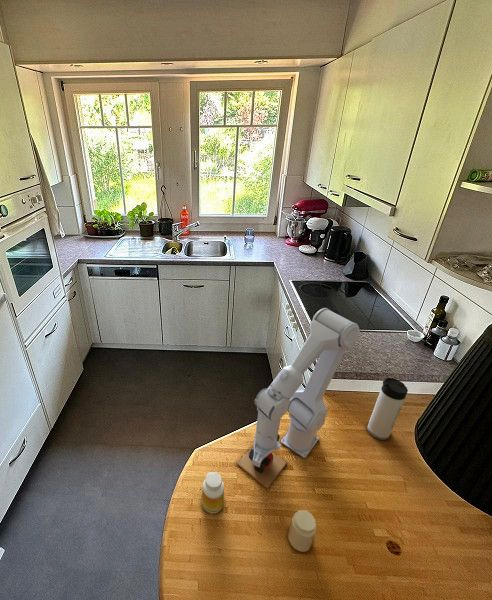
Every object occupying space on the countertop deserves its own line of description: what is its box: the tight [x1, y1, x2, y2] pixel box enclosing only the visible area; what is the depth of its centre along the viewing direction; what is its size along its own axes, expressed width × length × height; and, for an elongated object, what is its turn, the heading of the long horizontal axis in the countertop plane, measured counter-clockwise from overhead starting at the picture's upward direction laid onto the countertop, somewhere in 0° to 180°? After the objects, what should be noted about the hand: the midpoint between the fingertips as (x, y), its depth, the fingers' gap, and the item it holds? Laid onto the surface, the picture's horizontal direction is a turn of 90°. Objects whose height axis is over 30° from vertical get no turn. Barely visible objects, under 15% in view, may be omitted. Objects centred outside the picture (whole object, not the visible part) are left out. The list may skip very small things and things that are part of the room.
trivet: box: [236, 445, 287, 489], centre depth 92 cm, size 10×10×1 cm
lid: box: [264, 451, 273, 469], centre depth 91 cm, size 6×6×2 cm
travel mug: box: [366, 377, 409, 441], centre depth 97 cm, size 6×7×20 cm
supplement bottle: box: [201, 471, 225, 514], centre depth 80 cm, size 5×5×10 cm
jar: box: [287, 509, 317, 553], centre depth 73 cm, size 5×5×8 cm
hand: (262, 461), depth 92 cm, fingers closed on lid, 6 cm apart
